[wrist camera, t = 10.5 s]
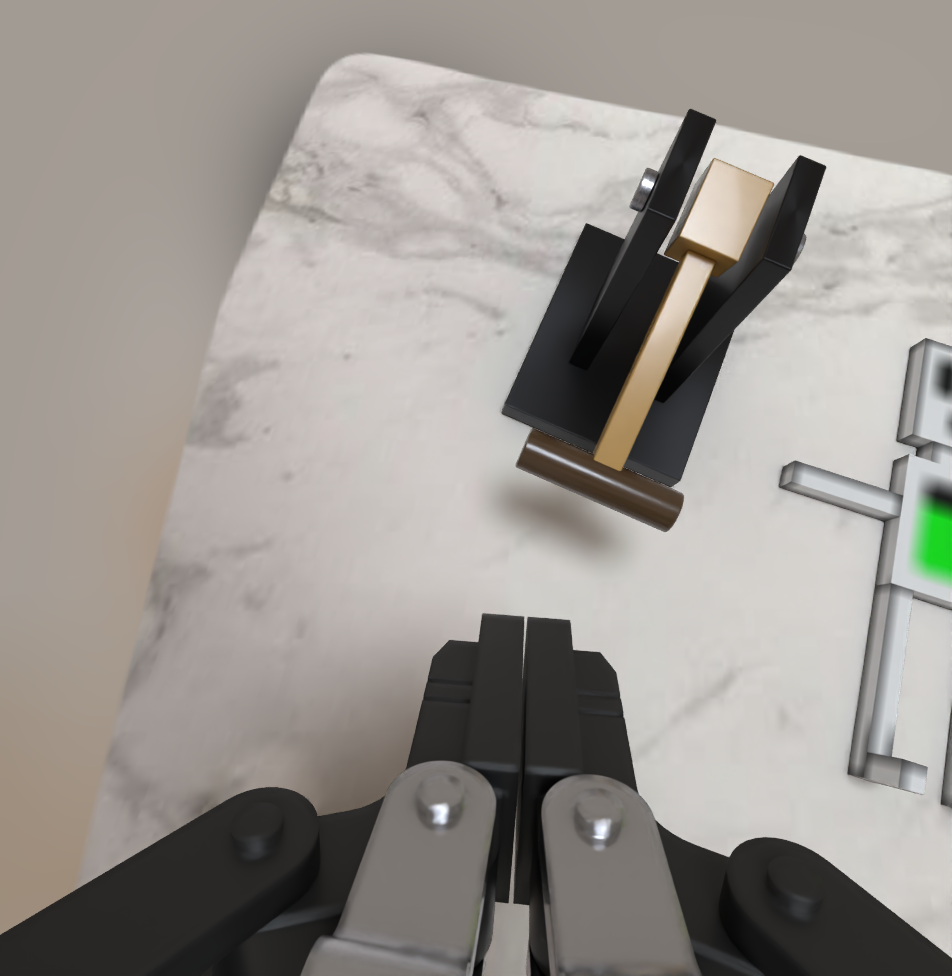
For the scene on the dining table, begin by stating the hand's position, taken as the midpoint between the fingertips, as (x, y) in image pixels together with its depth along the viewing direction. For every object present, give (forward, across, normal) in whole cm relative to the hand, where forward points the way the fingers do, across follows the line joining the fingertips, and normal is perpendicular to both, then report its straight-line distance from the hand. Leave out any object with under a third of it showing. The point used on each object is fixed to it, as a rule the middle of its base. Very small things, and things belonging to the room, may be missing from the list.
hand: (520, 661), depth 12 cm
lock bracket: (+25, -5, -1) cm, 26 cm away
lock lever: (+16, -4, -3) cm, 17 cm away
